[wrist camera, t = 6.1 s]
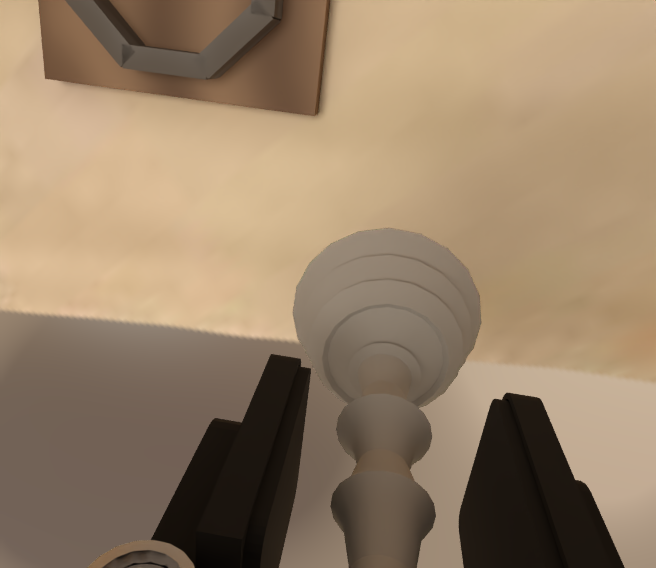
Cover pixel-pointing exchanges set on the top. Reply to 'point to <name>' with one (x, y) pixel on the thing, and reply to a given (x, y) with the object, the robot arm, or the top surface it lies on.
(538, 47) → the top surface
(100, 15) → the display stand
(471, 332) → the chalice
